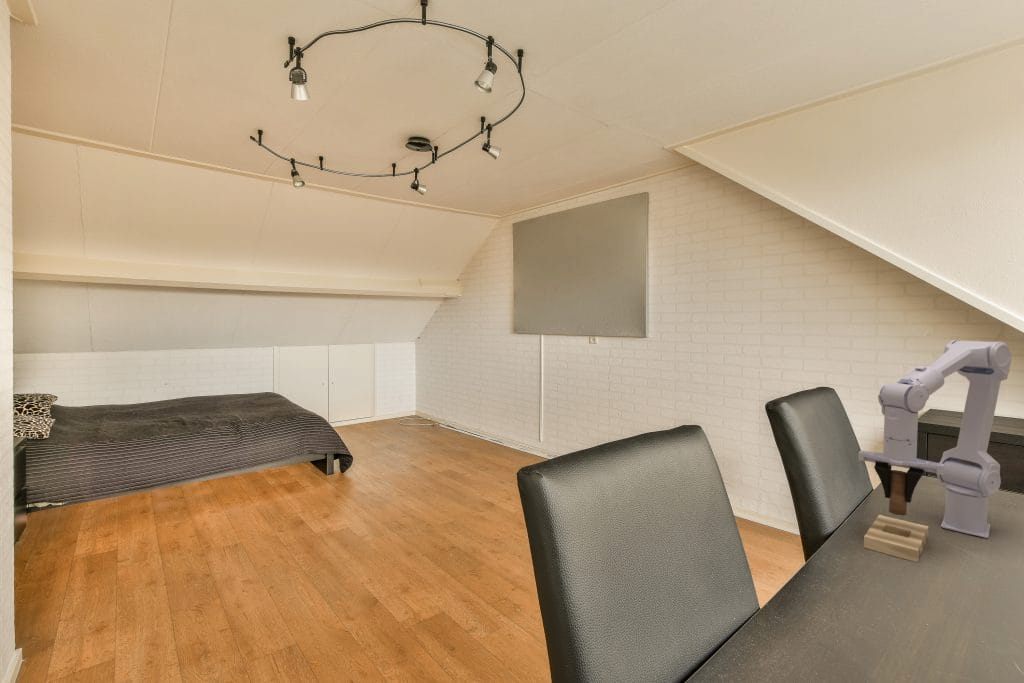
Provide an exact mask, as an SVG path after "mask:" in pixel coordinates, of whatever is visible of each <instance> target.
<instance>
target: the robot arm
mask: <svg viewBox="0 0 1024 683" xmlns="http://www.w3.org/2000/svg"><path fill="white" fill-rule="evenodd" d="M1012 359H1013V354H1012V352H1011V350H1010V347H1009V346H1008V344H1006V342H1003V341H982V340H981V341H978V340H975V341H974V340H960V339H953V340H951V341H950V342H949V343H948V344H946V345H945V346H944V350H943V354H942V355H940V357H939V358H937V359H936V360H935V361H934V362H933V363H931V364H930V365H929V366H928V365H918V366H916V367H915V368H914V370H912V372H910V373H908V374H907V375H905V376H903V377H902V378H901V379H899V380H898V381H896V382H893V381H892V382H888V383H886V384H884V385H883V386H881V388H880V390H879V393H878V395H877V400H878V402H879V404H880V407H881V414H882V415H883V416H884V417H883V418H884V419H883V420H884V421H883V447H882V448H883V450H882V452H876V451H865V450H860V451H858V457H857V458H858V461H859V462H860V461H861V462H870V463H874V470H875V472H876V475H878V478H879V481H880V483H881V485H882V488H883V492H884V498H885V499H889V497H890V471H891V470H892V468H893V467H898V468H905V469H908V470H907V471H906V473H907V493H906V502H907V503H908V504H909V503H911V502H912V499H913V494H914V491H915V488H916V487H917V485H918V483H919V481H920V479H921V478H922V476H923V475H924V473H925V472H928V473H933V474H936V476H937V479H938V481H939V482H940V483H942V487H944V488H945V513H944V516H943V519H942V522H941V524H940V527H941V528H942V529H945V530H951V531H953V532H959V533H963V534H967V535H972V536H974V537H975V536H977V537H981V538H984V539H989V536H990V529H991V524H990V523H988V513H989V512H988V510H989V497H991V496H993V495H994V494H996V493H997V492H998V491H999V489H1000V486H1001V484H1002V481H1001V480H1002V478H1001V474H1000V472H1001V465H1000V463H999V462H998V461H997V460H996V459H995V458H993V457H992V456H991V455H990V454H989V453H988V452H987V451H988V448H989V447H988V446H989V444H990V443H989V442H990V438H991V432H992V426H993V422H994V418H995V412H996V408H997V404H998V397H999V394H1000V388H1001V382H1002V381H1005V380H1006V381H1007V380H1008V377H1009V373H1010V370H1011V364H1012ZM956 372H957V373H958V374H959V375H960V376H962V377H965V378H966V379H967V380H968V382H969V385H968V389H967V395H966V399H965V405H964V409H963V414H962V419H961V423H960V424H961V425H960V430H959V434H958V438H957V443H956V446H955V447H953V448H950V449H947V450H946V451H943V453H942V456H941V459H940V461H939V462H934V461H930V460H926V459H921V458H917V454H918V428H919V426H918V424H919V423H918V422H919V412H920V411H923V410H924V409H925V406H926V403H927V401H928V400H929V398H930V396H931V395H933V394H934V393H935V392H937V391H938V390H939V389H941V388H942V387H943V386H944V384H945V378H947V377H949V376H951V375H953V374H955V373H956ZM962 460H963V461H962ZM966 461H968V462H966ZM969 462H970V463H969ZM971 462H972V463H971ZM974 463H976V464H974Z"/></svg>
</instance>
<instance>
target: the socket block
mask: <svg viewBox="0 0 1024 683" xmlns="http://www.w3.org/2000/svg"><path fill="white" fill-rule="evenodd" d="M863 537H864V538H863V548H864V549H867V550H871V551H874V552H879V553H882V554H886V555H888V556H893V557H896V558H901V559H904V560H907V561H909V562H914V563H918V562H919V561H920V557H921V555H922V554H923V550H924V548H925V545H926V542H927V540H928V539H929V526H928V525H924V524H919V523H915V522H912V521H907V520H902V519H899V518H894V517H889V516H886V515H881V514H878V516H877V517H876V518H875V520H874V521H873V522H872V524H871V526H870V527H869V529H868V530H867V531H866V533H865V534H864V536H863Z"/></svg>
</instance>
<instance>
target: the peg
mask: <svg viewBox="0 0 1024 683" xmlns="http://www.w3.org/2000/svg"><path fill="white" fill-rule="evenodd" d="M906 493H907V471H903V470H897V469H896V470H895V469H891V471H890V497H889V498H888V499H889V501H888V502H889V504H888V505H889V506H888V511H889V513H890V514H892V515H898V516H906V515H907V512H908V511H907V510H908V509H907V507H908V504H907V503H908V502H906Z"/></svg>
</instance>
